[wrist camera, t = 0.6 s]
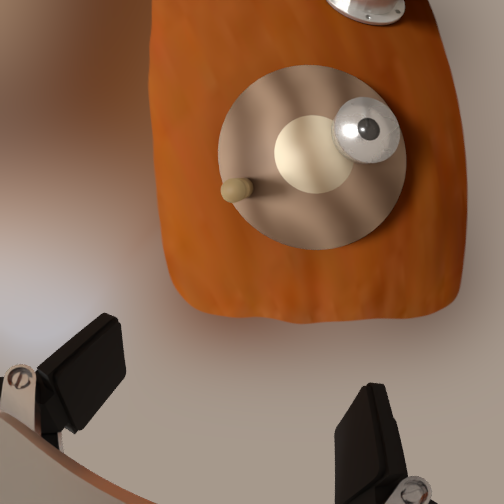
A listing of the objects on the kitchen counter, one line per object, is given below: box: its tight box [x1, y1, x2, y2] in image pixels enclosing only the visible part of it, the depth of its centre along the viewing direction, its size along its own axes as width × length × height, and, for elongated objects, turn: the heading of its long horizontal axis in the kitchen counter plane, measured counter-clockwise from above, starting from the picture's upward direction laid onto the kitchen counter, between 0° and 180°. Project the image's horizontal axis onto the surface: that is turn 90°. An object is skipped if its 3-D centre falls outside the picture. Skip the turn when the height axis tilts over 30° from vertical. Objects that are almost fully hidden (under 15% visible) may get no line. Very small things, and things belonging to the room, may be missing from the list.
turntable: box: [218, 65, 406, 250], centre depth 27 cm, size 22×22×6 cm
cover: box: [331, 97, 400, 164], centre depth 25 cm, size 7×7×4 cm
